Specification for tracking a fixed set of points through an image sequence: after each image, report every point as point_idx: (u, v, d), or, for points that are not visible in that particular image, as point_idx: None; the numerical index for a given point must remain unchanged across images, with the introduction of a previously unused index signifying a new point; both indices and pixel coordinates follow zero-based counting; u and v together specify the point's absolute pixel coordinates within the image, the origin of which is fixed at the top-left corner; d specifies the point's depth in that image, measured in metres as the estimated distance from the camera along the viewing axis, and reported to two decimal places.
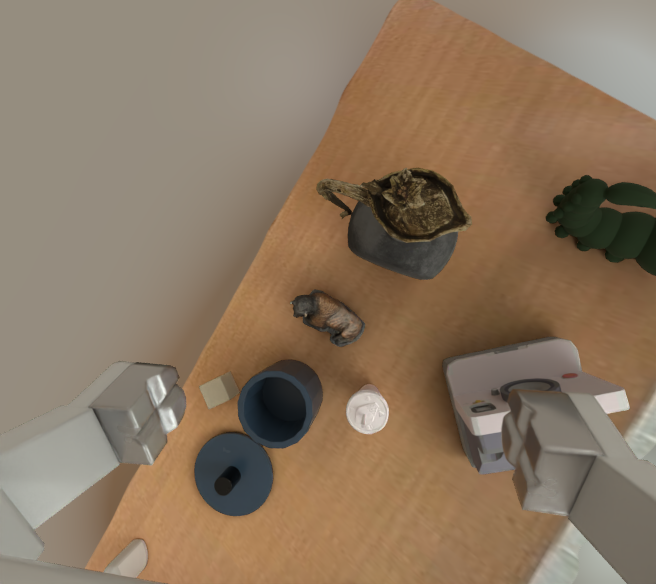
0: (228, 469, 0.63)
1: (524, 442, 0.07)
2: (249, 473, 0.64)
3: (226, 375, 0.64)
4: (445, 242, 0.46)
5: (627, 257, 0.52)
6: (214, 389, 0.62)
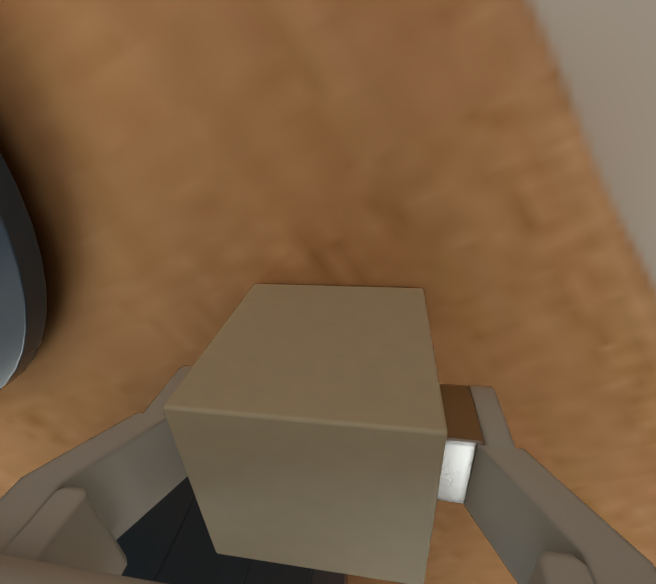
0: None
1: None
2: None
3: None
4: None
5: None
6: (339, 524, 0.06)
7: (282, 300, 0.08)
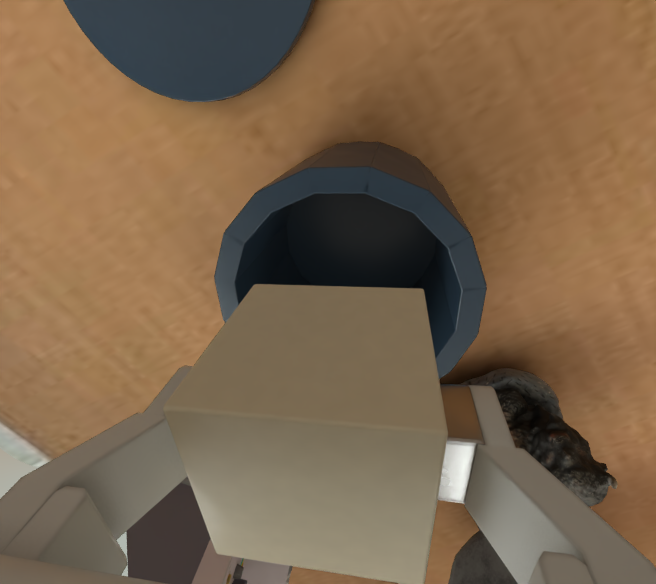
0: None
1: None
2: (169, 9, 0.19)
3: None
4: None
5: None
6: (339, 525, 0.06)
7: (282, 300, 0.08)
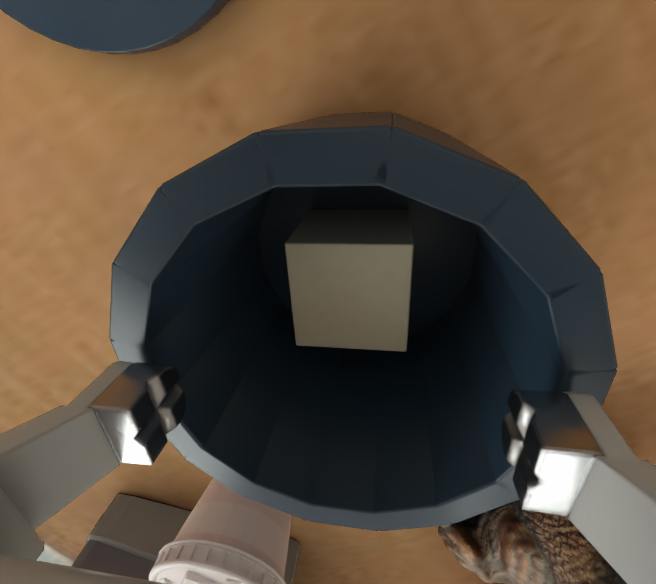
0: None
1: (524, 442, 0.07)
2: None
3: None
4: None
5: None
6: (364, 310, 0.13)
7: (329, 214, 0.15)
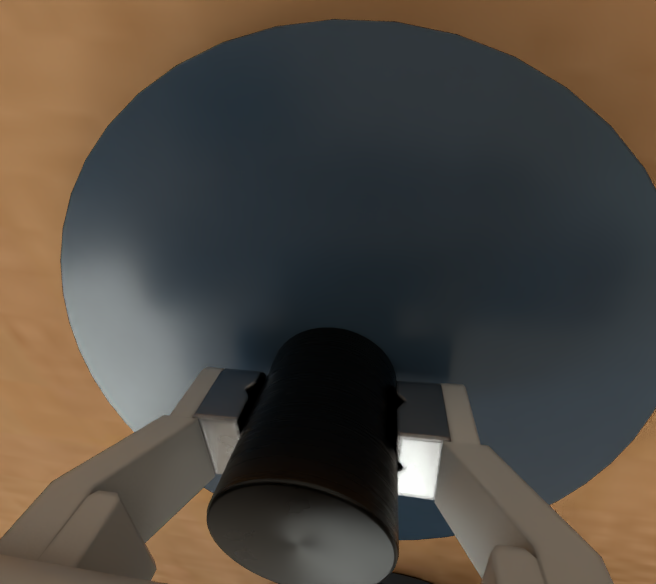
0: None
1: None
2: None
3: None
4: None
5: None
6: None
7: None
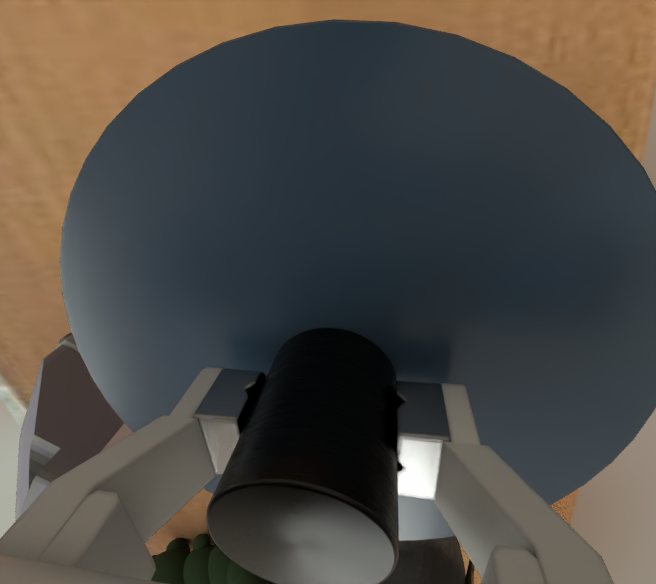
0: None
1: None
2: None
3: None
4: None
5: (188, 563, 0.52)
6: None
7: None
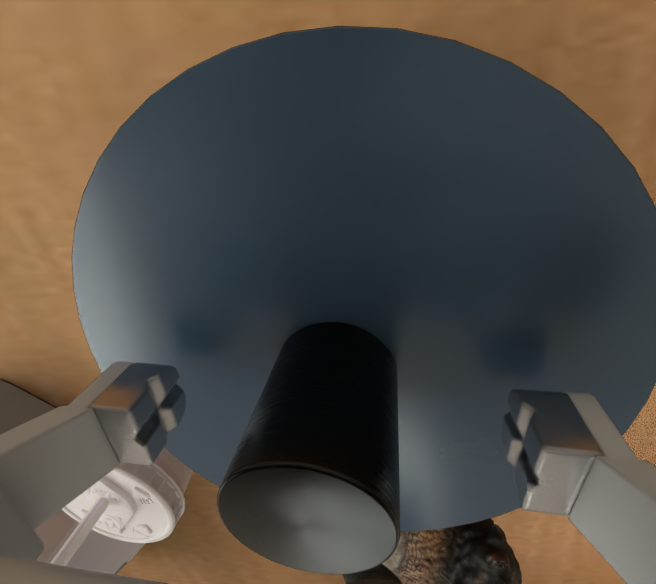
0: None
1: (524, 442, 0.07)
2: None
3: None
4: None
5: None
6: None
7: None
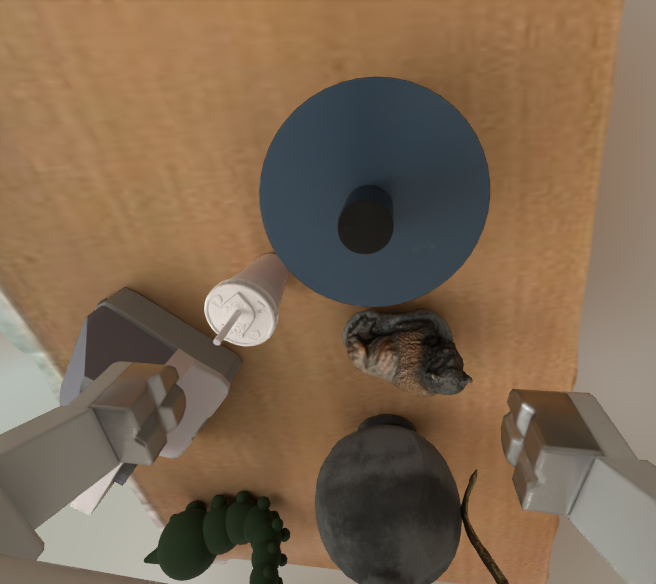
0: None
1: (524, 442, 0.07)
2: (337, 243, 0.25)
3: None
4: (330, 557, 0.36)
5: (207, 519, 0.56)
6: None
7: None
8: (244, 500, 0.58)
